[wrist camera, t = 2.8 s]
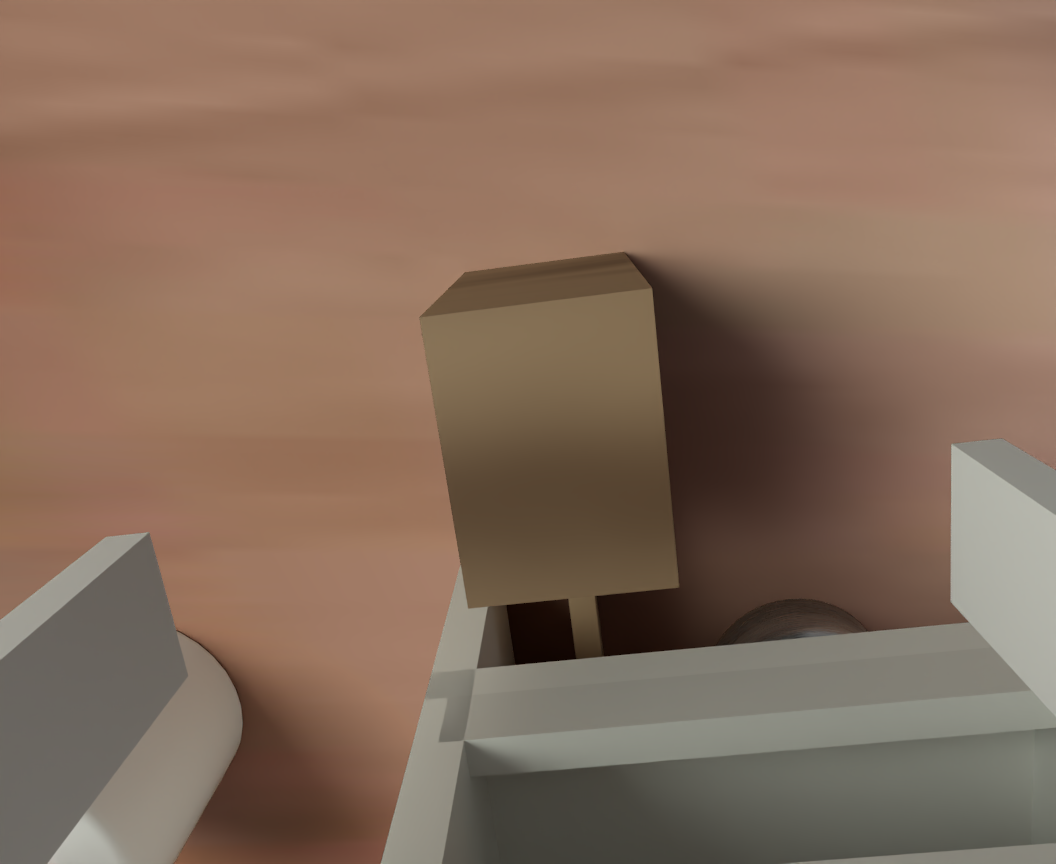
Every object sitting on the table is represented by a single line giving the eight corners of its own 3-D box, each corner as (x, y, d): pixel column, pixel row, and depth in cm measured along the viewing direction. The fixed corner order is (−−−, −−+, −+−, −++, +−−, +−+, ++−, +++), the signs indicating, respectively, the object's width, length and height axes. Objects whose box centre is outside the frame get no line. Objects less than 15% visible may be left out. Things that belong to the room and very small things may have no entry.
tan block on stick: (465, 272, 27) (419, 317, 19) (623, 252, 27) (651, 288, 18) (541, 779, 32) (533, 997, 24) (674, 768, 32) (715, 985, 23)
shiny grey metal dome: (701, 605, 30) (716, 650, 27) (876, 588, 30) (909, 632, 27) (713, 751, 32) (728, 808, 29) (879, 737, 32) (911, 793, 29)
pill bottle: (44, 785, 33) (-195, 1065, 23) (33, 606, 31) (-238, 825, 21) (242, 808, 33) (93, 1100, 23) (245, 631, 31) (82, 864, 21)
